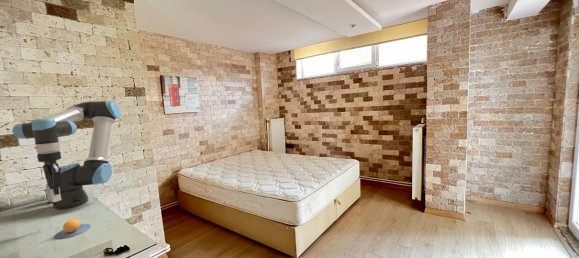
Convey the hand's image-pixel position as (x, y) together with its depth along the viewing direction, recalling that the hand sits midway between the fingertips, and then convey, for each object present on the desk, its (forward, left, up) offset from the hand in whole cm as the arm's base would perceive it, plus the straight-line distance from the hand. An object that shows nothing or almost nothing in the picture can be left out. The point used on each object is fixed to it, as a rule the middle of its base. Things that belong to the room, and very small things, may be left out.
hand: (56, 200), depth 109 cm
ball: (+11, +10, -9) cm, 17 cm away
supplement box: (-40, -22, -12) cm, 47 cm away
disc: (+10, +10, -12) cm, 19 cm away
